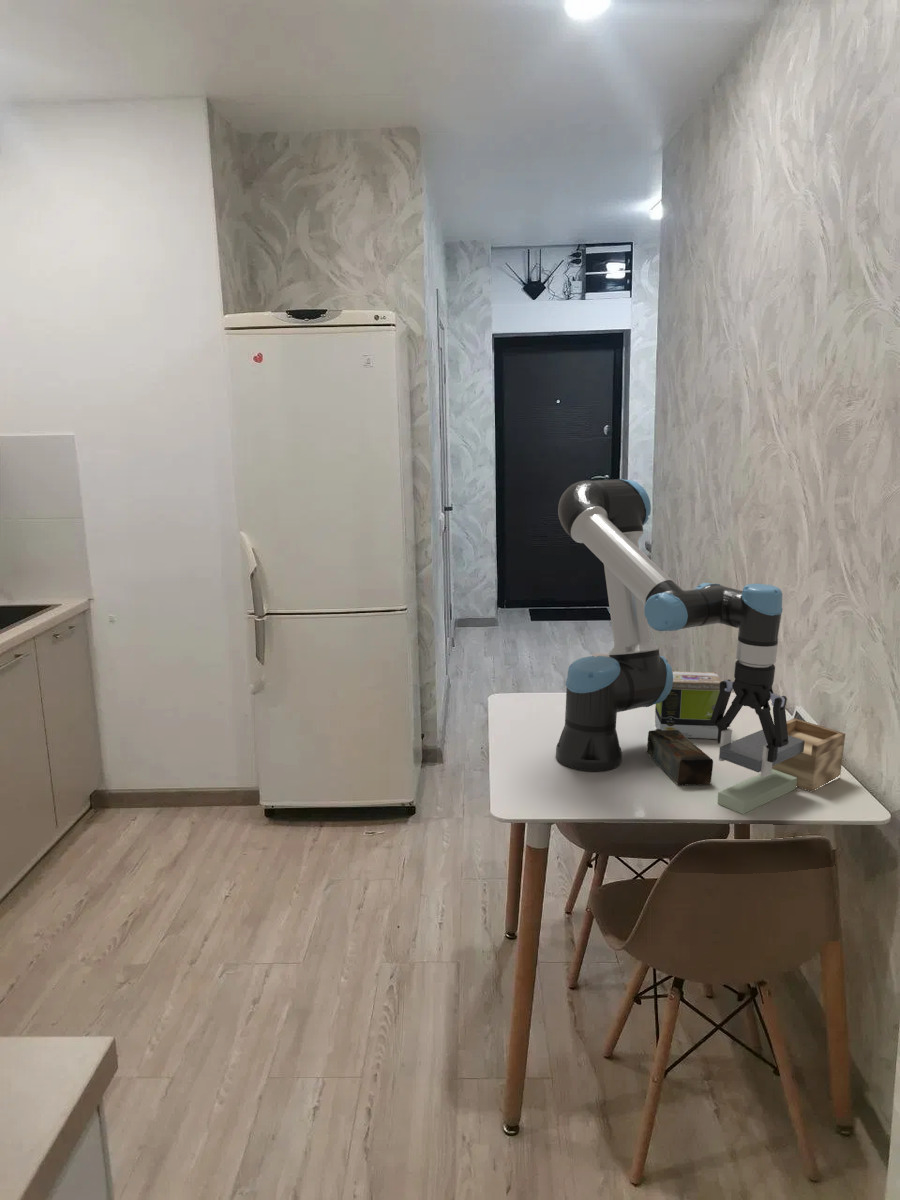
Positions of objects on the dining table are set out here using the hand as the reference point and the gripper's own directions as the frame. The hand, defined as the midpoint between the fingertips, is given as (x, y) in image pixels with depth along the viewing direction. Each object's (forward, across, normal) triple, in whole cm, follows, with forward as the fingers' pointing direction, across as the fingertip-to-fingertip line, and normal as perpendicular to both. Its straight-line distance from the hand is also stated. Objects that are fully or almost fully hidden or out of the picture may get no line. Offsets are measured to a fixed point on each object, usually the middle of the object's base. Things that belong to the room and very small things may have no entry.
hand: (744, 767), depth 176 cm
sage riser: (+8, 0, -6) cm, 10 cm away
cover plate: (-1, 0, -6) cm, 6 cm away
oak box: (+8, 0, -23) cm, 24 cm away
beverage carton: (+9, +19, -4) cm, 21 cm away
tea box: (+9, +32, -25) cm, 41 cm away
